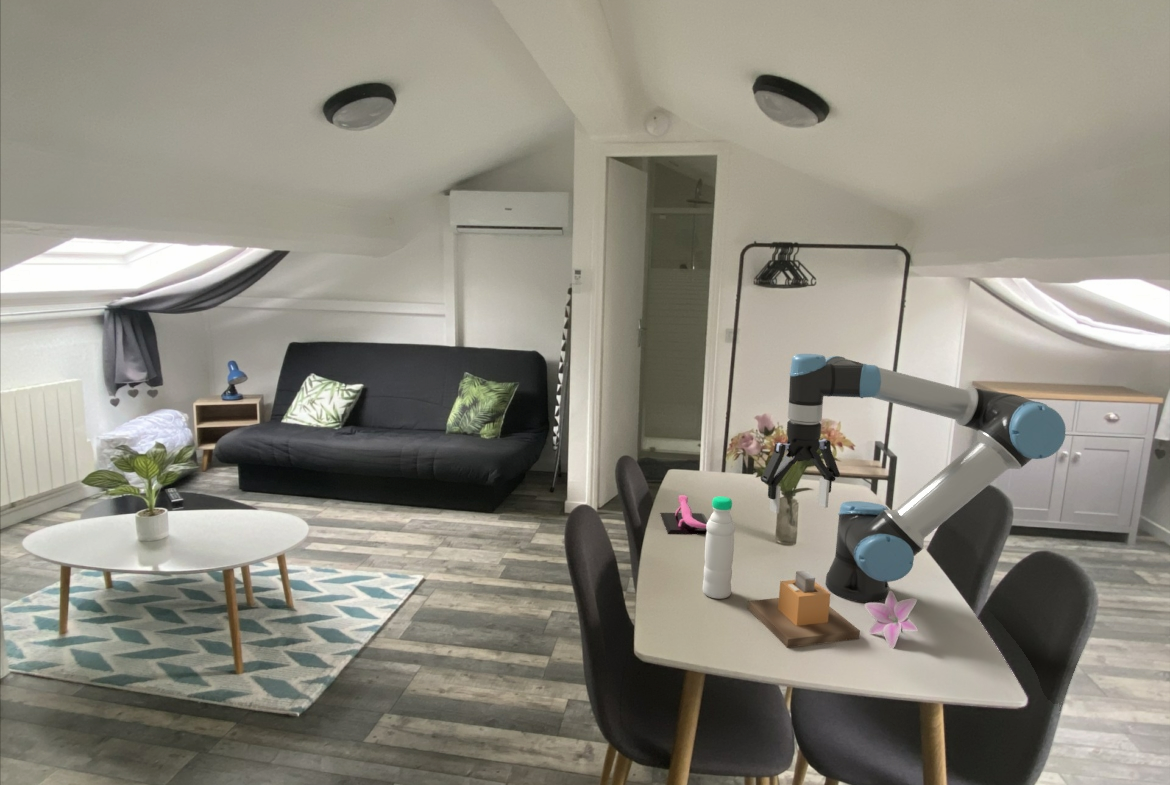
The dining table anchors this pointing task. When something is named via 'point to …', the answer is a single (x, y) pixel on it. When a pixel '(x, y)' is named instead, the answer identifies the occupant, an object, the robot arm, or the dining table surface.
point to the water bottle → (719, 550)
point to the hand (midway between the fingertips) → (798, 508)
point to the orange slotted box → (804, 604)
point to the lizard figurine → (684, 520)
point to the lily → (891, 617)
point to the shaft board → (802, 634)
